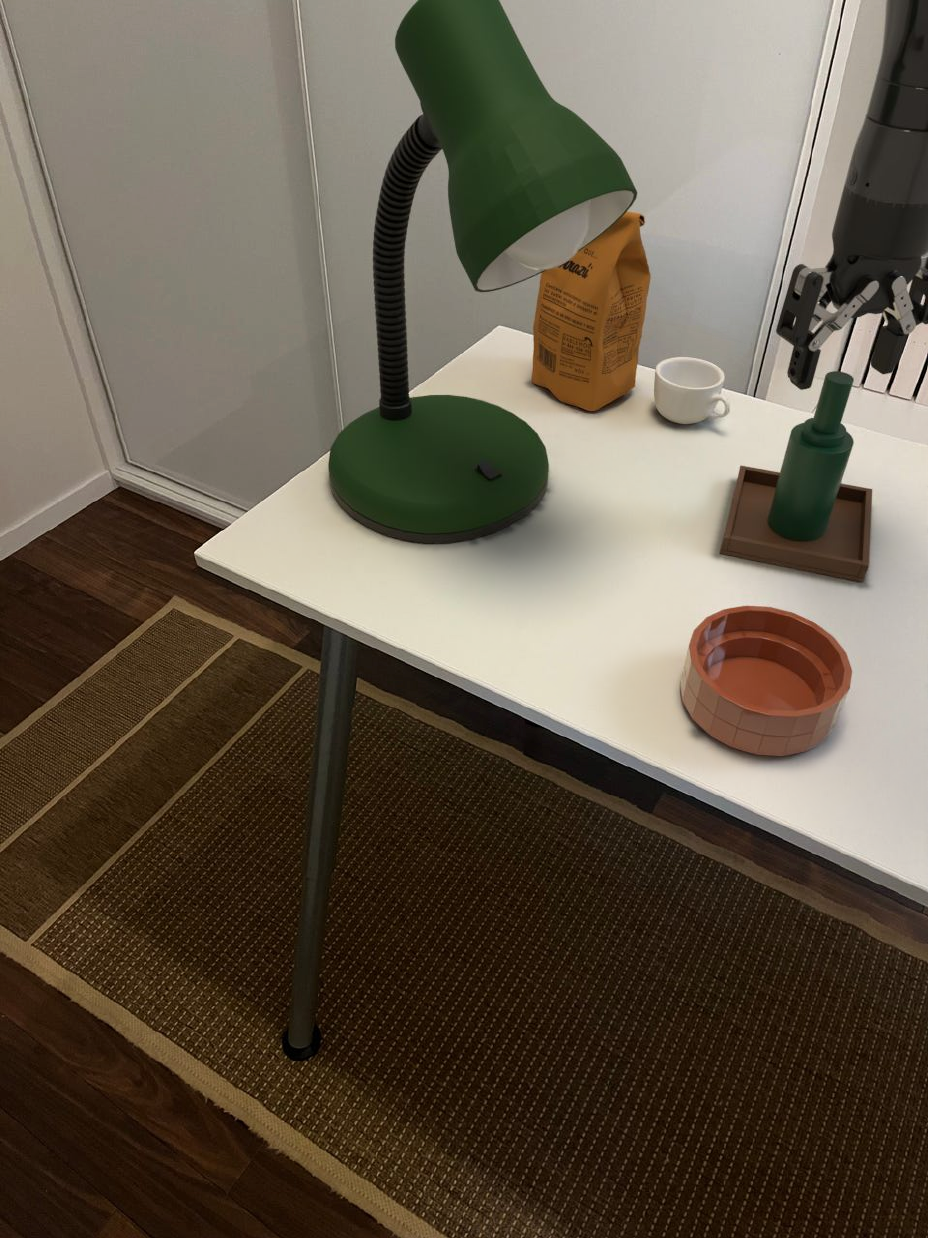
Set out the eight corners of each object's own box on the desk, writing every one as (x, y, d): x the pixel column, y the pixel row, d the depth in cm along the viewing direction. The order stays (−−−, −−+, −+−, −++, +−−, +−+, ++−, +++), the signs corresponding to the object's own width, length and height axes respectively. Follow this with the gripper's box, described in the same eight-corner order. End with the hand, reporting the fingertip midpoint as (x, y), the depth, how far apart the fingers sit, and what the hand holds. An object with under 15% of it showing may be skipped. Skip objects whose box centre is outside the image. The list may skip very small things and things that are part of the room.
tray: (866, 505, 97) (872, 488, 95) (862, 582, 87) (869, 565, 86) (736, 481, 100) (740, 465, 99) (719, 553, 91) (723, 536, 89)
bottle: (834, 522, 94) (883, 375, 83) (810, 548, 90) (857, 399, 80) (782, 501, 96) (823, 356, 86) (757, 526, 93) (795, 378, 82)
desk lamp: (648, 521, 95) (736, -12, 64) (478, 617, 84) (488, 31, 54) (452, 403, 112) (450, -60, 82) (291, 470, 101) (220, -34, 71)
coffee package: (576, 356, 121) (592, 176, 106) (646, 394, 114) (673, 206, 99) (517, 379, 117) (525, 194, 102) (586, 420, 109) (605, 226, 94)
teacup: (635, 411, 111) (641, 369, 107) (679, 391, 114) (686, 350, 111) (701, 447, 105) (709, 403, 101) (744, 425, 108) (754, 382, 105)
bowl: (859, 695, 77) (877, 651, 73) (792, 786, 70) (809, 742, 67) (725, 629, 83) (736, 586, 79) (651, 708, 76) (660, 663, 72)
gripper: (850, 209, 67) (796, 411, 78) (1007, 188, 71) (935, 383, 82) (789, 178, 73) (747, 371, 84) (938, 159, 76) (879, 347, 87)
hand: (840, 377), depth 83 cm, fingers open, 8 cm apart
